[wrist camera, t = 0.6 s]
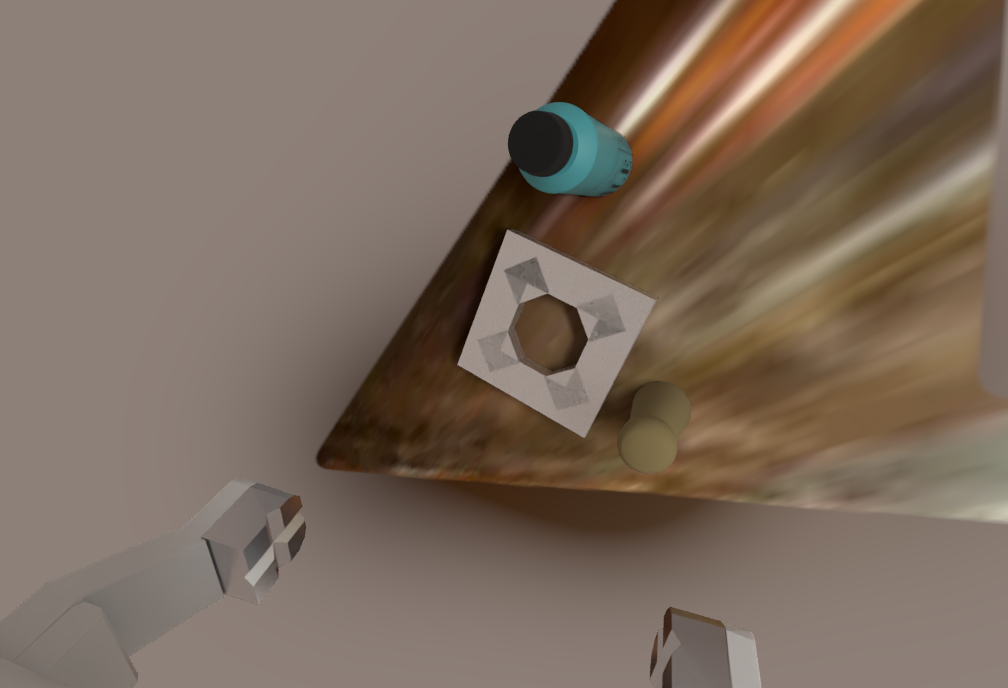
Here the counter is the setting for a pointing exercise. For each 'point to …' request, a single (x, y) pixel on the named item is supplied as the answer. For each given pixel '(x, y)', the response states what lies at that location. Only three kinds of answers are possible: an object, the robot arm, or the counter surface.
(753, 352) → the counter surface
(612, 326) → the jig plate
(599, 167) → the beverage bottle
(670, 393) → the olive peg doll
